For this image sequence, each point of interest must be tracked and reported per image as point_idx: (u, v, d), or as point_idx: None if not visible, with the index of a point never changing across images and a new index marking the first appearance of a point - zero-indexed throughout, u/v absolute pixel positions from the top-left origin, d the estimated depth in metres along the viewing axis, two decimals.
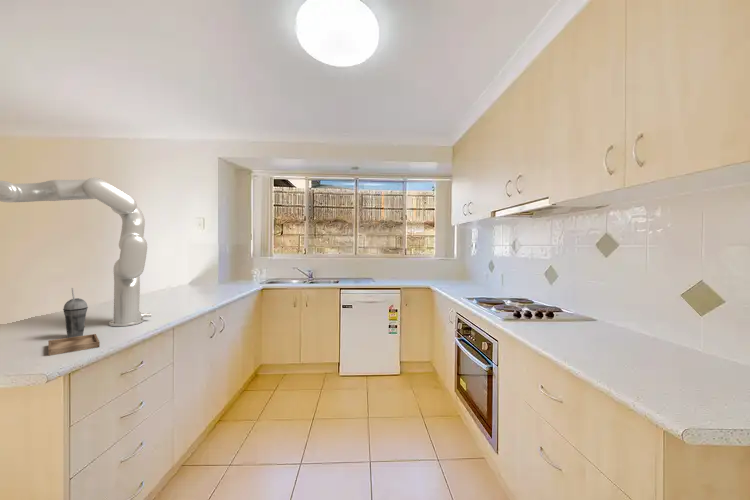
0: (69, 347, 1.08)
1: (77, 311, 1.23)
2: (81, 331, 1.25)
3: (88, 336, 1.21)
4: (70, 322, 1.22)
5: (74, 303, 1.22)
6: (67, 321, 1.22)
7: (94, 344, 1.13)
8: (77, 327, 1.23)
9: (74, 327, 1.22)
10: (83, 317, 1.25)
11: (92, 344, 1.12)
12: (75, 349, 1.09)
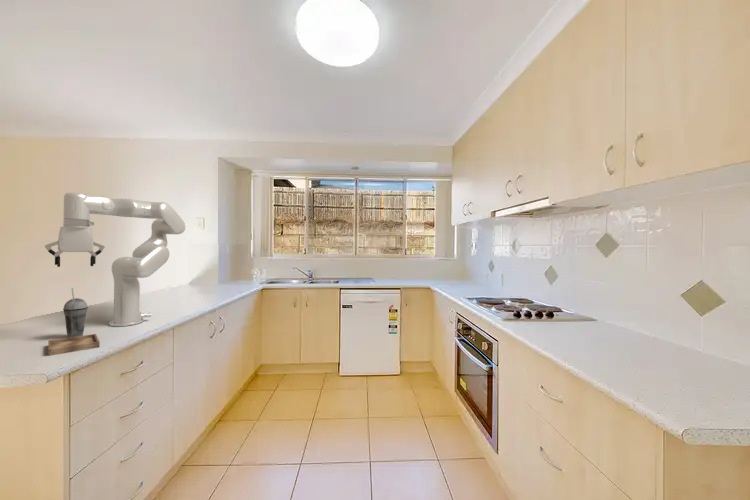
0: (69, 347, 1.08)
1: (77, 311, 1.23)
2: (81, 331, 1.25)
3: (88, 336, 1.21)
4: (70, 322, 1.22)
5: (74, 303, 1.22)
6: (67, 321, 1.22)
7: (94, 344, 1.13)
8: (77, 327, 1.23)
9: (74, 327, 1.22)
10: (83, 317, 1.25)
11: (92, 344, 1.12)
12: (75, 349, 1.09)
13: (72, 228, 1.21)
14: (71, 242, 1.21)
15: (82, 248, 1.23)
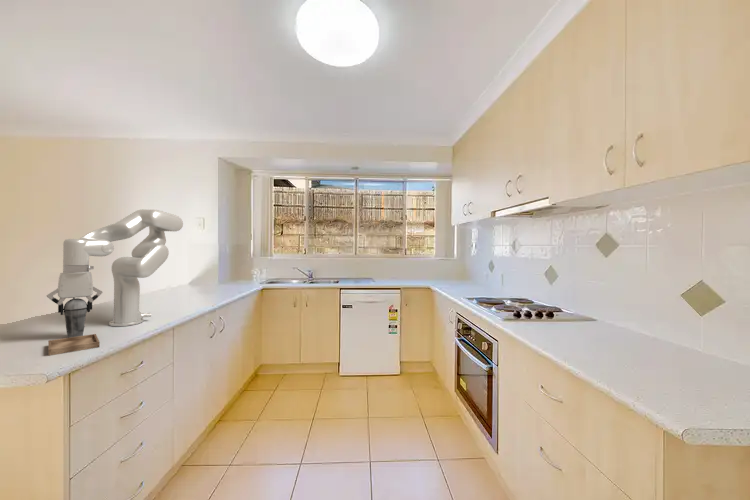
0: (69, 347, 1.08)
1: (77, 311, 1.23)
2: (81, 331, 1.25)
3: (88, 336, 1.21)
4: (70, 322, 1.22)
5: (74, 303, 1.22)
6: (67, 321, 1.22)
7: (94, 344, 1.13)
8: (77, 327, 1.23)
9: (74, 327, 1.22)
10: (83, 317, 1.25)
11: (92, 344, 1.12)
12: (75, 349, 1.09)
13: (72, 274, 1.21)
14: (70, 289, 1.21)
15: (82, 293, 1.24)
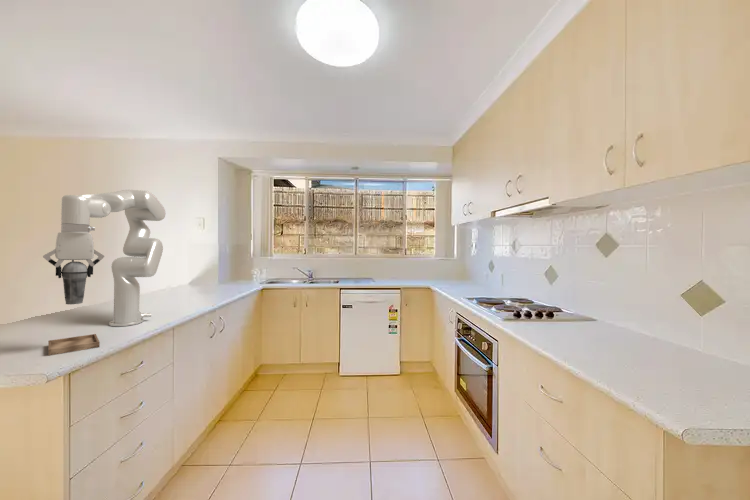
0: (69, 347, 1.08)
1: (77, 275, 1.12)
2: (81, 297, 1.14)
3: (88, 336, 1.21)
4: (69, 286, 1.11)
5: (73, 266, 1.11)
6: (65, 285, 1.11)
7: (94, 344, 1.13)
8: (76, 292, 1.12)
9: (73, 292, 1.11)
10: (83, 282, 1.14)
11: (92, 344, 1.12)
12: (75, 349, 1.09)
13: (71, 234, 1.10)
14: (69, 250, 1.10)
15: (82, 256, 1.13)
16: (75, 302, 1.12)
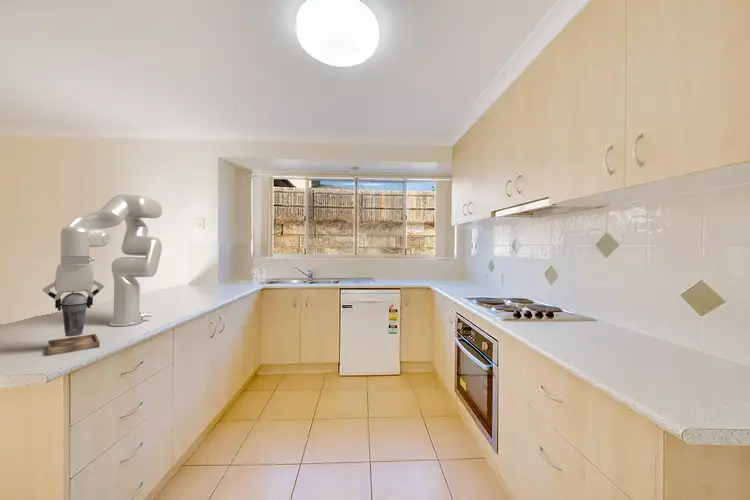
0: (69, 347, 1.08)
1: (76, 307, 1.12)
2: (80, 329, 1.13)
3: (88, 336, 1.21)
4: (68, 319, 1.11)
5: (73, 298, 1.11)
6: (65, 317, 1.11)
7: (94, 344, 1.13)
8: (76, 324, 1.12)
9: (72, 324, 1.11)
10: (83, 313, 1.14)
11: (92, 344, 1.12)
12: (75, 349, 1.09)
13: (70, 266, 1.10)
14: (69, 282, 1.10)
15: (81, 287, 1.13)
16: (75, 334, 1.12)
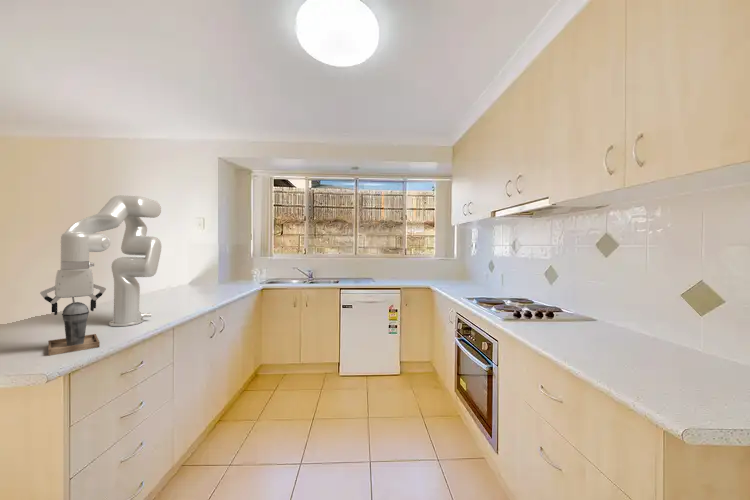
0: (69, 347, 1.08)
1: (77, 317, 1.12)
2: (82, 338, 1.14)
3: (88, 336, 1.21)
4: (70, 328, 1.11)
5: (74, 307, 1.12)
6: (66, 327, 1.11)
7: (94, 344, 1.13)
8: (77, 333, 1.13)
9: (74, 334, 1.12)
10: (84, 323, 1.14)
11: (92, 344, 1.12)
12: (75, 349, 1.09)
13: (70, 272, 1.10)
14: (69, 287, 1.10)
15: (81, 292, 1.13)
16: (76, 343, 1.13)
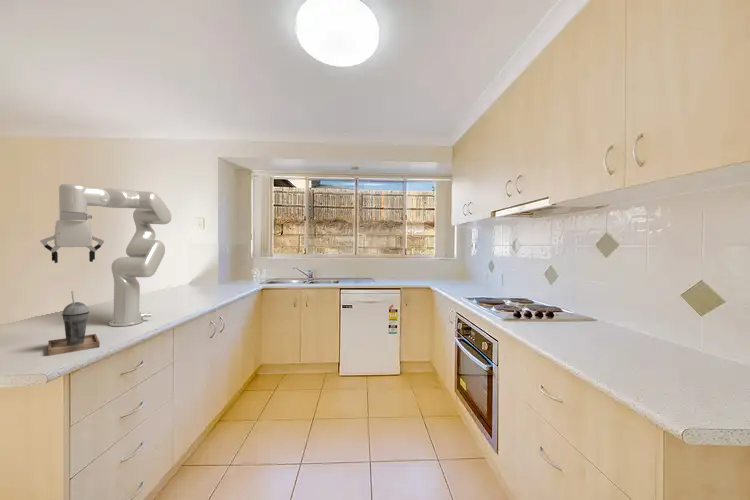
0: (69, 347, 1.08)
1: (77, 317, 1.12)
2: (82, 338, 1.14)
3: (88, 336, 1.21)
4: (70, 328, 1.11)
5: (74, 307, 1.12)
6: (66, 327, 1.11)
7: (94, 344, 1.13)
8: (77, 334, 1.13)
9: (73, 334, 1.12)
10: (84, 323, 1.14)
11: (92, 344, 1.12)
12: (75, 349, 1.09)
13: (69, 222, 1.14)
14: (68, 237, 1.14)
15: (80, 243, 1.17)
16: (76, 343, 1.13)
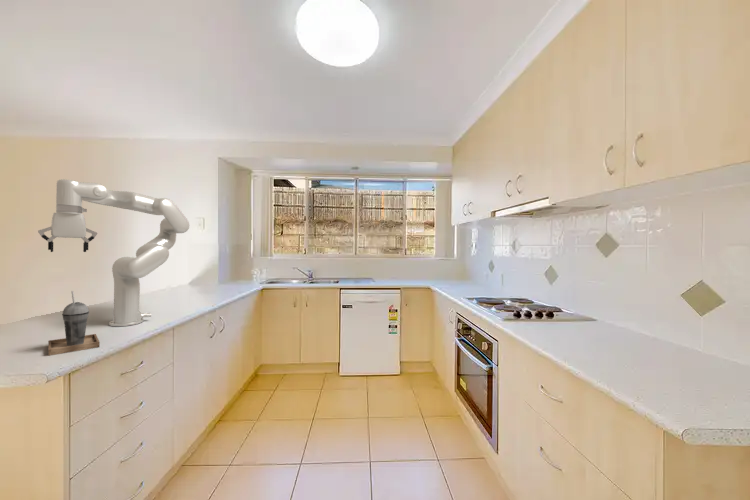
0: (69, 347, 1.08)
1: (77, 317, 1.12)
2: (82, 338, 1.14)
3: (88, 336, 1.21)
4: (70, 328, 1.11)
5: (74, 307, 1.12)
6: (66, 327, 1.11)
7: (94, 344, 1.13)
8: (77, 333, 1.13)
9: (74, 334, 1.12)
10: (84, 323, 1.14)
11: (92, 344, 1.12)
12: (75, 349, 1.09)
13: (65, 214, 1.24)
14: (64, 228, 1.24)
15: (75, 234, 1.26)
16: (76, 343, 1.13)
